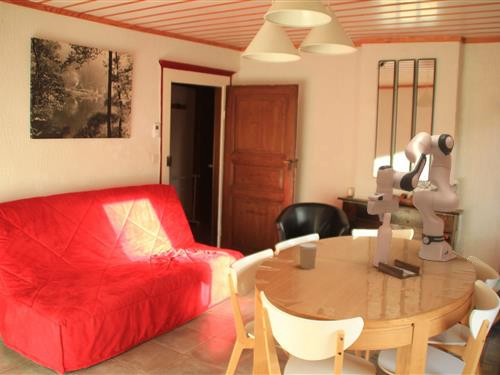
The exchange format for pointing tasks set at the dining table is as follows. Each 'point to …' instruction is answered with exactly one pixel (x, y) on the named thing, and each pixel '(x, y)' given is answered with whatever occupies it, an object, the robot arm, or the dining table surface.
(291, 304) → the dining table surface
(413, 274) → the cradle
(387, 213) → the bottle
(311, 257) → the coffee cup
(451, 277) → the dining table surface
